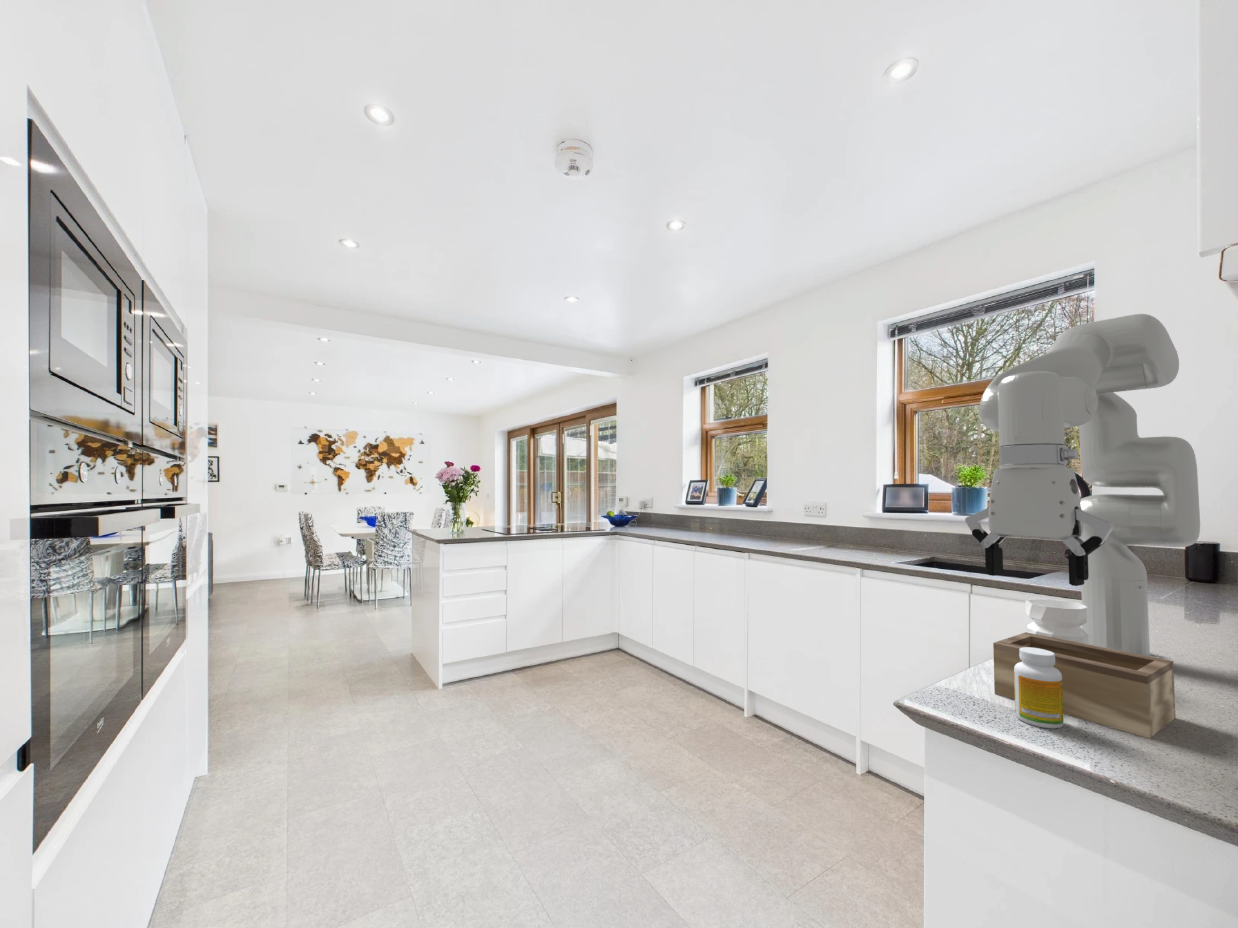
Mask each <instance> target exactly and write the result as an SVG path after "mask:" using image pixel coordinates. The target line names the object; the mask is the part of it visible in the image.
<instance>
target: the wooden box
mask: <svg viewBox="0 0 1238 928" xmlns="http://www.w3.org/2000/svg"><path fill="white" fill-rule="evenodd" d="M992 644H993V646H992V647H993V678H994V679H993V682H994V683H993V684H994V694H995V695H998V696H1001V697H1004V698H1008V699H1011V700H1014V701H1015V688H1014V667H1015V665H1016V664H1017V663H1019V662H1022V660H1021V659H1020V656H1019V649H1020V648H1022V647H1031V648H1039V649H1044V650H1048V651H1051V652H1053V653H1054V654H1055V665H1053V667H1054V668H1056V669H1058V670H1059V671H1060V673H1061V674H1062V691H1063V715H1067V716H1070V717H1074V718H1077V719H1081V720H1084V721H1088V722H1090V723H1095V724H1097V725H1102V726H1105V727H1109V728H1112V729H1115V730H1120V731H1122V732H1126V733H1129V734H1134V735H1136V736H1139V737H1143V738H1146V739H1151V738H1152V737H1154V736H1155V735H1156V734H1157V733H1159V731H1161V730H1162V729H1164V728H1165V727H1166V726H1167V725H1168V724H1170V723H1171V722H1172V721H1173V720H1175V719H1176V699H1175V697H1176V695H1175V694H1176V693H1175V673H1174V672H1175V669H1174V660H1170V659H1165V658H1161V657H1160V658H1161V659H1160V658H1155V657H1150V656H1145V655H1140V654H1135V653H1129V652H1124V651H1119V650H1114V649H1109V648H1104V647H1099V646H1093V645H1088V644H1083V643H1078V642H1073V641H1068V640H1063V639H1057V638H1052V637H1047V636H1042V635H1037V634H1032V633H1027V631H1026V632H1022V633H1019V634H1017V635H1016V634H1015V635H1013V636H1010V637H1006V638H1004V639H1001V640H998V641H994V642H993V643H992Z"/></svg>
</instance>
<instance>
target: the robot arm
mask: <svg viewBox="0 0 1238 928" xmlns="http://www.w3.org/2000/svg"><path fill="white" fill-rule="evenodd" d="M1178 354H1179V353H1178V351H1177V348H1176V347H1175V344H1174V342H1173V341H1172V339H1171V337H1170V334H1169V332H1168V330H1167V328H1166V327H1165V326H1164V324H1163V323H1162V322H1161V321H1160V320H1159V319H1157V317H1154V316H1153V315H1150V314H1147V313H1136V314H1135V313H1134V314H1128V315H1124V316H1119V317H1113V318H1107V319H1102V320H1096V321H1092V322H1085V323H1082V324H1078V325H1075V326H1072V327H1069V328H1068V329H1066V330H1065V331H1063V332H1062V333H1061V334H1059V336H1058V337H1057V338H1056V339H1055V341H1054V342H1053V343H1052V345H1051V346H1050V347H1049V349H1048V350H1047V351H1046V353H1043V354H1042V355H1039V356H1036V357H1033V358H1031V359H1030V360H1027V361H1025V362H1023V363H1020V364H1018V365H1015V366H1013V367H1011V368H1009V369H1007V370H1005V371H1003V372H1001V373H1000V374H997V376H995V378H993V379H992V381H991V382H990V383H989V384H988V385H987V387H986V388H985V390H984V392H983V394H982V395H981V399H980V402H979V407H978V408H979V416H980V419H981V422H982V424H984V426H985V427H986V428H987V429H989V430H991V431H994V432H998V447H999V449H998V457H999V459H998V461H999V463H998V465H999V466H998V467H999V468H996V469H994V472H993V476H992V480H991V484H990V492H989V500H988V507H987V508H985V509H982V510H980V511H977V512H975V513H973V514H971V515H969V516H966V517H965V519H964V521H965V522H966V525H967V527H968V528H969V530H970V531H971V536H973V538H975V539H976V540H977V541H978V542H979V543H980V545H981V546H982V548H984V552H985V553H984V554H985V555H984V557H985V558H984V559H985V560H984V562H985V563H984V564H985V568H986V570H987V569H988V573H987V575H988V576H993V577H994V576H1001V575H1003V574H1004V560H1003V559H1004V554H1003V548H1002V547H1000V544H1001V543H1002V542H1003V541H1004V540H1005V539H1006V538H1018V539H1019V538H1021V539H1022V538H1023V539H1034V540H1036V539H1037V540H1048V541H1049V540H1051V541H1061V542H1062V543H1063V544H1064V545H1065V546H1066V547H1067V548H1068V549H1069V550H1070V551H1071V555H1069V556H1068V584H1069V585H1071V586H1072V587H1073V586H1074V587H1078V586H1080V588H1081V590H1080V591H1081V604H1082V605H1085V606H1086V607H1087V622H1086V623H1085V624H1083V625H1082V629H1083V630H1084V631H1085V632H1086V633H1087V634H1088V637H1089V645H1093V646H1099V647H1104V648H1109V649H1114V650H1119V651H1124V652H1129V653H1135V654H1140V655H1145V656H1150V657H1155V658H1160V659H1162V657H1160V656H1158V655H1157V654H1154V653H1153V652H1151V651H1150V649H1151V648H1150V645H1151V644H1150V626H1149V625H1150V624H1149V623H1150V622H1149V600H1148V599H1149V595H1148V574H1147V573H1148V572H1147V569H1146V567H1145V564H1144V563H1143V561H1142V560H1141V559H1140V557H1138V556H1137V555H1136V554H1134V552H1133V551H1132V550H1130V548H1129V547H1128V546H1150V547H1151V546H1152V547H1164V548H1165V547H1167V548H1168V547H1169V548H1185V547H1186V548H1187V547H1190V546H1192V545H1194V544H1196V542H1197V541H1198V539H1199V537H1200V533H1201V516H1200V515H1201V514H1200V510H1201V509H1200V498H1199V497H1200V495H1199V479H1198V478H1199V477H1198V464H1197V458H1196V454H1195V450H1194V449H1193V446H1192V444H1190V442H1189V441H1188V440H1186V439H1184V438H1182V437H1177V436H1150V437H1149V436H1147V437H1140V436H1139V432H1138V418H1137V417H1138V415H1137V412H1136V410H1135V408H1133V406H1132V405H1130V404H1129V402H1127V400H1125V399H1123V398H1122V396H1119V395H1118V394H1116V393H1119V392H1126V391H1127V392H1129V391H1137V390H1147V389H1148V390H1149V389H1156V388H1157V389H1158V388H1162V387H1166V386H1167V385H1170V384H1171V383H1172V382H1174V381H1175V379H1176V378H1177V376H1178V374H1179V370H1180V359H1179V358H1180V357H1179V355H1178ZM1074 427H1079V428H1078V431H1079V433H1078V435H1079V451H1078V449H1076V448H1075V449H1073V448H1072V449H1071V448H1068V446H1067V445H1066V439H1065V438H1066V437H1065V432H1066V430H1065V429H1067V428H1074ZM1079 454H1080V455H1079ZM1079 456H1080V459H1079V461H1080V470H1081V475H1082V477H1083V480H1084V481H1085V482H1086V484H1088V485H1090V486H1093V487H1094V486H1095V487H1098V488H1121V489H1123V488H1132V489H1133V488H1135V489H1136V488H1138V489H1139V488H1142V489H1143V488H1151V489H1158V490H1159V491H1161V493H1162V494H1125V493H1123V494H1112V493H1111V494H1110V493H1107V494H1105V493H1104V494H1093V495H1088V496H1085V497H1082V498H1081V497H1080V496H1081V495H1080V490H1079V485H1078V481H1077V477H1076V473H1075V471H1074V468H1071V467H1066V466H1067V465H1068V463H1069V461H1071V460H1077V459H1078V458H1079ZM985 520H988V529H989V531H990V533H988V532H987V531H986V530H984V529H983V528H982V525H981V523H982V522H983V521H985Z"/></svg>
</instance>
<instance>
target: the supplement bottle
mask: <svg viewBox="0 0 1238 928" xmlns="http://www.w3.org/2000/svg"><path fill="white" fill-rule="evenodd" d="M1019 656H1020V659H1021V660H1022V662H1019V663H1017V664H1016V665H1015V667H1014V688H1015V700H1014V713H1015V714H1014V715H1015V717H1016V718H1017V719H1018V720H1020V721H1022V722H1023V723H1026V724H1029V725H1031V726H1035V727H1039V728H1042V729H1060V728H1062V727H1063V726H1064V725H1065V724H1064V723H1065V721H1064V714H1063V691H1062V674H1061V673H1060V671H1059V670H1058V669H1056V668H1054V667H1053V665H1055V654H1054V653H1053V652H1051V651H1048V650H1044V649H1039V648H1031V647H1022V648H1020V649H1019Z"/></svg>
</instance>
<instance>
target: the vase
mask: <svg viewBox="0 0 1238 928" xmlns="http://www.w3.org/2000/svg"><path fill="white" fill-rule="evenodd" d="M1024 602H1025V615H1027V616H1028V617H1029V618H1030V619H1031V620H1033V621H1032V622H1030V623H1028V624H1026V625H1027V626H1026V632H1027V633H1032V634H1037V635H1042V636H1047V637H1052V638H1057V639H1063V640H1068V641H1073V642H1078V643H1083V644H1088V645H1089V637H1088V634H1087V633H1086V632H1085V631H1084V630H1083V628H1081V626H1082V627H1083V624H1085V623H1086V622H1087V607H1086V606H1085V605H1082V603H1076V602H1074V601H1073V602H1072V601H1067V600H1059V599H1047V598H1046V599H1045V598H1028V599H1026V600H1025V601H1024Z"/></svg>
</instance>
